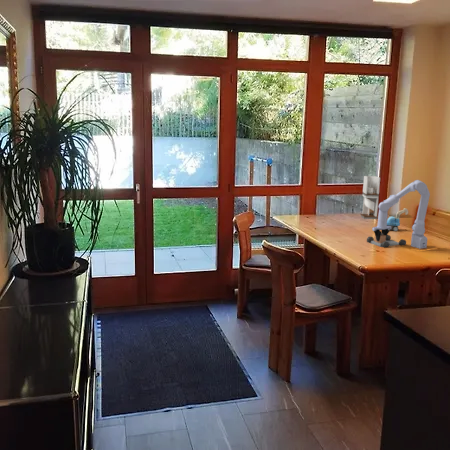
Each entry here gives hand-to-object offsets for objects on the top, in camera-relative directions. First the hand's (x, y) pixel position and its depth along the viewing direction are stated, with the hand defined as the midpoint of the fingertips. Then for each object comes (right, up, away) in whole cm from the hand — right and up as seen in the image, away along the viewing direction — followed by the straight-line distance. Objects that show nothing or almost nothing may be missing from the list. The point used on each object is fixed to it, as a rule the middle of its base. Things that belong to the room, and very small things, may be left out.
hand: (380, 240), depth 322 cm
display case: (+20, +16, +94) cm, 98 cm away
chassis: (+4, -3, +3) cm, 6 cm away
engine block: (0, -1, +1) cm, 1 cm away
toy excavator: (+26, +6, +48) cm, 55 cm away
